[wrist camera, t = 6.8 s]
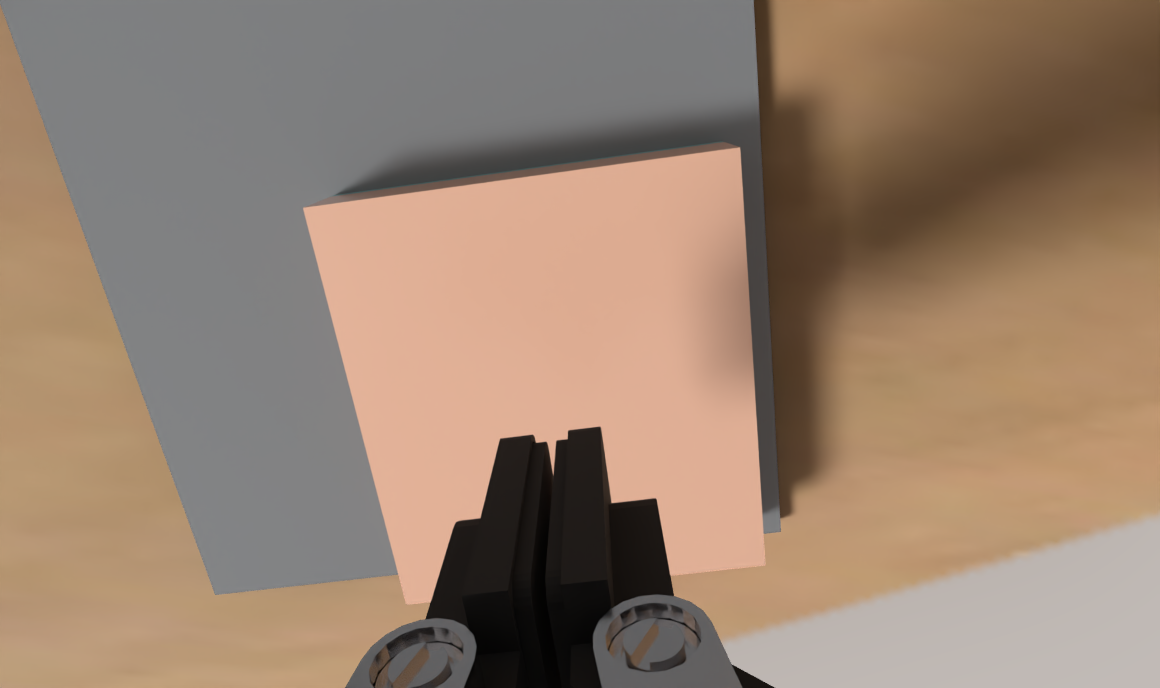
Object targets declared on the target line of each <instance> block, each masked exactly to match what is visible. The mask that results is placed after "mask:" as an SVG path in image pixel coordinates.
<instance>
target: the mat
mask: <svg viewBox="0 0 1160 688" xmlns="http://www.w3.org/2000/svg"><path fill="white" fill-rule="evenodd" d="M0 5H1V7H2V10H3V13H4V16H5V18H6V21H7V24H8V27H9V29H10V32H11V35H12V38H13V40H14V43H15V46H16V49H17V51H18V54H19V57H20V60H21V62H22V65H23V68H24V71H25V73H26V76H27V79H28V82H29V84H30V87H31V90H32V93H33V95H34V98H35V101H36V104H37V106H38V109H39V112H40V115H41V117H42V120H43V123H44V126H45V128H46V131H47V134H48V137H49V139H50V142H51V145H52V148H53V150H54V153H55V156H56V159H57V161H58V164H59V167H60V170H61V172H62V175H63V178H64V181H65V183H66V186H67V189H68V192H69V194H70V197H71V200H72V203H73V205H74V208H75V211H76V214H77V216H78V219H79V222H80V225H81V227H82V230H83V233H84V236H85V238H86V241H87V244H88V247H89V249H90V252H91V255H92V258H93V260H94V263H95V266H96V268H97V271H98V274H99V277H100V279H101V282H102V285H103V288H104V290H105V293H106V296H107V299H108V301H109V304H110V307H111V310H112V312H113V315H114V318H115V321H116V323H117V326H118V329H119V332H120V334H121V337H122V340H123V343H124V345H125V348H126V351H127V354H128V356H129V359H130V362H131V365H132V367H133V370H134V373H135V376H136V378H137V381H138V384H139V387H140V389H141V392H142V395H143V398H144V400H145V403H146V406H147V409H148V411H149V414H150V417H151V420H152V422H153V425H154V428H155V431H156V433H157V436H158V439H159V442H160V444H161V447H162V450H163V453H164V455H165V458H166V461H167V464H168V466H169V469H170V472H171V475H172V477H173V480H174V483H175V486H176V488H177V491H178V494H179V497H180V499H181V502H182V505H183V508H184V510H185V513H186V516H187V519H188V521H189V524H190V527H191V530H192V532H193V535H194V538H195V540H196V543H197V546H198V549H199V551H200V554H201V557H202V560H203V562H204V565H205V568H206V571H207V573H208V576H209V579H210V582H211V584H212V587H213V590H214V593H215V595H219V594H228V593H237V592H246V591H255V590H264V589H272V588H281V587H290V586H299V585H308V584H317V583H326V582H335V581H344V580H353V579H362V578H371V577H380V576H389V575H398V571H397V567H396V564H395V560H394V556H393V552H392V548H391V544H390V541H389V537H388V533H387V529H386V525H385V521H384V517H383V514H382V510H381V506H380V502H379V498H378V494H377V491H376V487H375V483H374V479H373V475H372V471H371V468H370V464H369V460H368V456H367V452H366V448H365V445H364V441H363V437H362V433H361V429H360V425H359V421H358V418H357V414H356V410H355V406H354V402H353V398H352V395H351V391H350V387H349V383H348V379H347V375H346V372H345V368H344V364H343V360H342V356H341V352H340V348H339V345H338V341H337V337H336V333H335V329H334V325H333V322H332V318H331V314H330V310H329V306H328V302H327V299H326V295H325V291H324V287H323V283H322V279H321V276H320V272H319V268H318V264H317V260H316V256H315V252H314V249H313V245H312V241H311V237H310V233H309V229H308V226H307V222H306V218H305V214H304V210H303V208H304V207H306V206H309V205H311V204H314V203H316V202H319V201H321V200H324V199H326V198H328V197H331V196H333V195H338V194H345V193H353V192H360V191H367V190H374V189H381V188H389V187H396V186H403V185H410V184H417V183H425V182H432V181H439V180H446V179H453V178H461V177H468V176H475V175H482V174H489V173H497V172H504V171H511V170H518V169H525V168H532V167H540V166H547V165H554V164H561V163H568V162H576V161H583V160H590V159H597V158H604V157H612V156H619V155H626V154H633V153H640V152H648V151H655V150H662V149H669V148H676V147H684V146H691V145H698V144H705V143H712V142H720V141H723V142H726V143H729V144H732V145H735V146H738V147H740V152H741V169H742V186H743V202H744V219H745V235H746V252H747V268H748V285H749V301H750V318H751V335H752V351H753V368H754V384H755V401H756V417H757V434H758V450H759V467H760V484H761V500H762V517H763V533H764V534H766V533H775V532H781V525H780V506H779V486H778V467H777V447H776V428H775V408H774V388H773V369H772V349H771V330H770V310H769V291H768V271H767V252H766V232H765V212H764V193H763V173H762V154H761V134H760V115H759V95H758V76H757V56H756V37H755V17H754V0H0Z"/></svg>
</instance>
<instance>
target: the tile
mask: <svg viewBox="0 0 1160 688" xmlns="http://www.w3.org/2000/svg"><path fill="white" fill-rule="evenodd" d="M303 210H304V214H305V218H306V222H307V226H308V229H309V233H310V237H311V241H312V245H313V249H314V252H315V256H316V260H317V264H318V268H319V272H320V276H321V279H322V283H323V287H324V291H325V295H326V299H327V302H328V306H329V310H330V314H331V318H332V322H333V325H334V329H335V333H336V337H337V341H338V345H339V348H340V352H341V356H342V360H343V364H344V368H345V372H346V375H347V379H348V383H349V387H350V391H351V395H352V398H353V402H354V406H355V410H356V414H357V418H358V421H359V425H360V429H361V433H362V437H363V441H364V445H365V448H366V452H367V456H368V460H369V464H370V468H371V471H372V475H373V479H374V483H375V487H376V491H377V494H378V498H379V502H380V506H381V510H382V514H383V517H384V521H385V525H386V529H387V533H388V537H389V541H390V544H391V548H392V552H393V556H394V560H395V564H396V567H397V571H398V575H399V579H400V583H401V587H402V590H403V594H404V598H405V602H406V605H407V604H417V603H426V602H431V600H432V596H433V593H434V590H435V587H436V583H437V580H438V577H439V573H440V570H441V567H442V563H443V560H444V557H445V554H446V550H447V547H448V544H449V540H450V537H451V534H452V530H453V527H454V525H455V523H456V522H457V521H461V520H469V519H478V518H481V514H482V510H483V505H484V501H485V497H486V493H487V489H488V485H489V481H490V477H491V473H492V469H493V465H494V461H495V457H496V452H497V448H498V444H499V441H500V438H508V437H517V436H525V435H534V437H535V441H536V443H539V442H547V444H548V447H549V453H550V459H551V465H552V471H553V474H554V462H555V449H556V440H564V439H568V430H575V429H583V428H592V427H601V431H602V437H603V444H604V451H605V459H606V466H607V473H608V480H609V487H610V495H611V502H612V503H618V502H626V501H635V500H644V499H652V498H656V499H657V504H658V509H659V515H660V521H661V526H662V532H663V537H664V543H665V549H666V554H667V560H668V566H669V571H670V576H673V575H682V574H691V573H700V572H709V571H718V570H728V569H737V568H746V567H755V566H764V565H765V550H764V533H763V517H762V500H761V484H760V467H759V450H758V434H757V417H756V401H755V384H754V368H753V351H752V335H751V318H750V301H749V285H748V268H747V252H746V235H745V219H744V202H743V186H742V169H741V152H740V147H738V146H735V145H732V144H729V143H726V142H723V141H720V142H712V143H705V144H698V145H691V146H684V147H676V148H669V149H662V150H655V151H648V152H640V153H633V154H626V155H619V156H612V157H604V158H597V159H590V160H583V161H576V162H568V163H561V164H554V165H547V166H540V167H532V168H525V169H518V170H511V171H504V172H497V173H489V174H482V175H475V176H468V177H461V178H453V179H446V180H439V181H432V182H425V183H417V184H410V185H403V186H396V187H389V188H381V189H374V190H367V191H360V192H353V193H345V194H338V195H333V196H331V197H328V198H326V199H324V200H321V201H319V202H316V203H314V204H311V205H309V206H306V207H304V208H303Z"/></svg>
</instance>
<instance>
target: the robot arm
mask: <svg viewBox="0 0 1160 688" xmlns="http://www.w3.org/2000/svg"><path fill="white" fill-rule="evenodd" d="M345 688H774V687H772V686H770V685H769V684H767V683H765V682H763V681H761V680H759V679H758V678H756V677H754V676H752V675H750V674H748V673H747V672H744V671H743V670H741V669H739V668H737V667H736V666H734V665H732V664H731V662H730V660H729V658H728V656H727V654H726V652H725V649H724V647H723V645H722V643H721V641H720V639H719V637H718V634H717V632H716V630H715V628H714V626H713V624H712V622H711V621H710V619H709V618H708V617H707V615H706V614H705V612H704V611H703V610H701V609H700V608H699V607H697V606H696V605H694V604H693V603H691V602H689V601H686V600H684V599H681V598H678V597H675V596H674V594H673V588H672V582H671V577H670V571H669V566H668V560H667V554H666V549H665V543H664V537H663V532H662V526H661V521H660V515H659V509H658V504H657V499H656V498H652V499H644V500H635V501H626V502H618V503H612V502H611V495H610V487H609V480H608V473H607V466H606V459H605V451H604V444H603V437H602V431H601V427H592V428H583V429H575V430H568V439H564V440H556V449H555V462H554V474H553V471H552V465H551V459H550V453H549V447H548V444H547V442H539V443H536V441H535V437H534V435H525V436H517V437H508V438H500V441H499V444H498V448H497V452H496V457H495V461H494V465H493V469H492V473H491V477H490V481H489V485H488V489H487V493H486V497H485V501H484V505H483V510H482V514H481V518H478V519H469V520H461V521H457V522H456V523H455V525H454V527H453V530H452V534H451V537H450V540H449V544H448V547H447V550H446V554H445V557H444V560H443V563H442V567H441V570H440V573H439V577H438V580H437V583H436V587H435V590H434V593H433V596H432V600H431V603H430V606H429V610H428V613H427V616H426V619H425V620H419V621H416V622H413V623H409V624H406V625H403V626H401V627H399V628H397V629H396V630H394V631H392V632H390V633H388V634H386V635H385V636H384V637H382V638H381V639H380V640H379V641H378V642H376V643H375V644H374V645H373V646H372V647H371V648H370V649H369V651H368V652H367V653H366V654H365V656H364V657H363V658H362V660H361V661H360V663H359V665H358V667H357V668H356V670H355V672H354V673H353V675H352V677H351V679H350V680H349V682H348V684H347V685H346V687H345Z"/></svg>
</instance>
